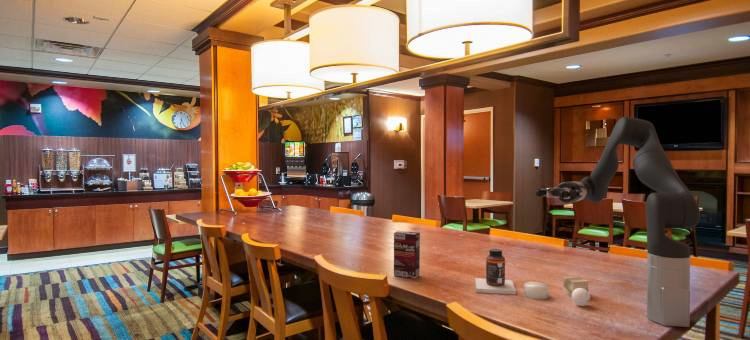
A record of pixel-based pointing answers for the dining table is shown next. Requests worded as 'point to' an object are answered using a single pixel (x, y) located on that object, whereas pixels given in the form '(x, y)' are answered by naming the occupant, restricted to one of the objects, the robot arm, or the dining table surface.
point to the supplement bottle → (495, 268)
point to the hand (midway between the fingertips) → (548, 194)
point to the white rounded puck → (536, 290)
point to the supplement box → (406, 254)
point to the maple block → (573, 284)
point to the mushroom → (580, 296)
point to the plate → (494, 287)
